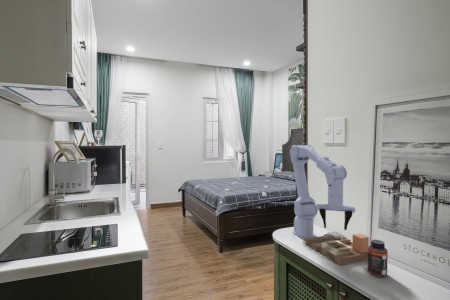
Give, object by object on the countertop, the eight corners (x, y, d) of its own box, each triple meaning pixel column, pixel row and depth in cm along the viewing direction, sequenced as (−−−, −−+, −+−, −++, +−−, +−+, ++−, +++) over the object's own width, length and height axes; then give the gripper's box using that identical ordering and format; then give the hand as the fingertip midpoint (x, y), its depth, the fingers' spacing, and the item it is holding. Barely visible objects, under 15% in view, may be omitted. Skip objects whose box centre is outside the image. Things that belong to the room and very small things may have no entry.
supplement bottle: (390, 279, 87) (391, 245, 87) (370, 277, 89) (371, 244, 88) (383, 270, 93) (383, 238, 93) (365, 268, 95) (365, 237, 94)
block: (327, 239, 116) (327, 232, 116) (335, 238, 117) (335, 231, 117) (334, 243, 112) (334, 236, 112) (343, 241, 113) (343, 234, 113)
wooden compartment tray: (305, 244, 117) (305, 235, 117) (334, 239, 122) (334, 231, 122) (340, 265, 97) (340, 254, 97) (373, 258, 102) (373, 248, 102)
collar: (321, 247, 107) (321, 242, 107) (337, 245, 109) (337, 240, 109) (335, 255, 99) (335, 250, 99) (352, 252, 102) (352, 247, 102)
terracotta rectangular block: (352, 249, 105) (352, 234, 105) (360, 248, 106) (360, 233, 106) (360, 253, 101) (360, 238, 101) (368, 252, 103) (368, 236, 102)
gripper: (316, 196, 106) (316, 229, 107) (356, 198, 101) (356, 233, 102) (316, 192, 113) (316, 224, 113) (354, 195, 108) (353, 227, 108)
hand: (335, 228), depth 108 cm, fingers open, 7 cm apart
